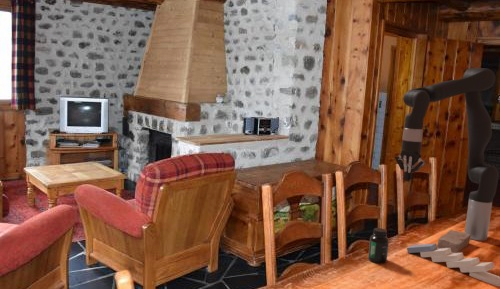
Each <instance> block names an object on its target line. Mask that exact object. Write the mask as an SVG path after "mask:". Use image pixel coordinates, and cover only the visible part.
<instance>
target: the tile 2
mask: <svg viewBox="0 0 500 289" xmlns="http://www.w3.org/2000/svg"><path fill="white" fill-rule="evenodd" d="M451 253H452V252H451V248H441V249H439V248H437V249H435V250H433V251H431V252H419V254H420V257H421V258H431V257H438V256H447V255H449V254H451Z"/></svg>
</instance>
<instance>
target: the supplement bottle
mask: <svg viewBox="0 0 500 289" xmlns="http://www.w3.org/2000/svg"><path fill="white" fill-rule="evenodd" d="M387 233H388V230H387V229H385V228H381V227H375V228H373V233H372V235H370V237H369V246H368V260H369V261H370V262H371V263H375V264H379V265H382V264H386V263H387V261H388V255H389V254H388V252H389V244H390V243H389V242H390V240H389V238H388V237H387V235H388V234H387Z"/></svg>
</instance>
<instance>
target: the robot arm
mask: <svg viewBox="0 0 500 289" xmlns="http://www.w3.org/2000/svg"><path fill="white" fill-rule="evenodd" d="M495 82H496V75H495V72H494V71H493V70H492V69H489V68H486V67H485V68H483V67H471V68H468V69H466V70H465V72H464V73H463V75H462V78H457V79H451V80H445V81H441V82H438V83H433V84H431V85H427V86H423V87H417V88H411V89H409V90H407V91H406V92H405V93H404V95H403V103H404V104H405V105H406V106H407V107H410V108H412V111H411V113H410V112H409V113H406V115H405V119H404V125H403V126H404V127H403V132H402V139H401V147H400V149H401V151H400V153H399V155H398V156H394V159H395V161H396V163H397V166H398V167H399V169H400V170H401V171H403V172H404V173H403V180H404V181H405V182H408V183H409V182H411V181H412V180H413V173H415V172H416V173H417V172H418V171H419V170H420V169H421V168H422V167H423V166H424V165H426V163H427V162H426V160H423V158H422V155H421V151H422V144H423V143H422V142H423V134H424V133H423V127H424V119H425V117H426V114H427V112H428V108H429V106H430V103H436V102H440V101H443V100H447V99H448V98H452V97H455V96H460V95H463V94H464V98H465V107H466V108H465V109H466V120H467V121H466V122H467V123H466V124H467V125H466V126H467V136H468V164H467V175H468V179H469V180H470V181H471V182H472V183H473V184H474V183H475V184H477V185H478V189H477V190H473V191H470V193H469V196H468V204H467V212H466V217H465V218H466V220H465V227H464V233H467V234H470V235H471V237H470V240H474V241H482V242H484V241H487V240H488V235H489V229H490V228H489V227H490V223H491V222H490V221H491V220H490V219H491V215H492V214H491V213H492V207H493V201H494V200H493V199H494V198H495V195H496V193H497V187H498V183H499V175H500V174H499V170H498V169H497V168H496V167H495V166H494V165H489V164H485V159H484V158H485V157H484V156H485V155H484V154H485V149H486V148H487V146H488V145H489V144H488V143H490V140H491V138H492V135H493V133H492V132H493V131H492V130H493V129H492V128H493V127H492V119H491V116H490V114H489V112H488V110H487V108H486V107H485V105H484V104H483V100H482V97H481V92H482V91H486V90H489V89H491V88H492V87H493V86H494V84H495Z"/></svg>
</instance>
